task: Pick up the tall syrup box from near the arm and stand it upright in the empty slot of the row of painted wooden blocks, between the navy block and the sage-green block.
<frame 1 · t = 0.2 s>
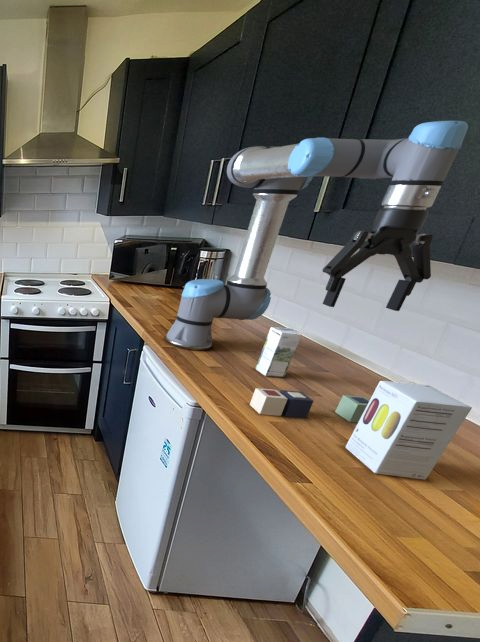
hand: (359, 307, 92), 28 cm above the worktop, tool pointing down, fingers open, 13 cm apart
block a: (264, 410, 103), on the worktop
block c: (352, 417, 101), on the worktop
supplement box: (382, 463, 84), on the worktop
syrup box: (269, 374, 126), on the worktop
block b: (289, 412, 103), on the worktop
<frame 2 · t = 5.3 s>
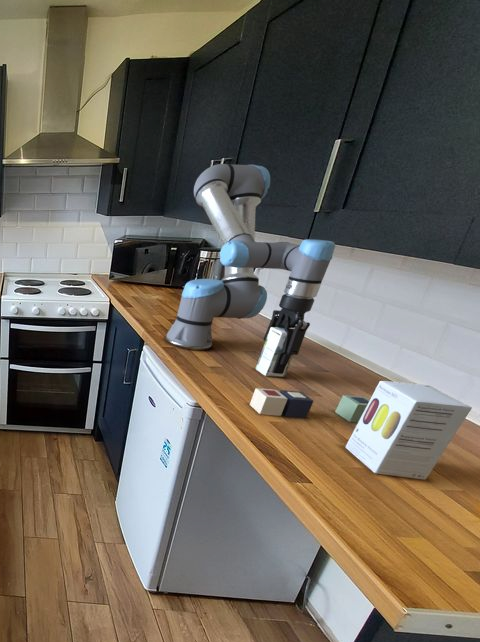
hand: (271, 368, 125), 2 cm above the worktop, tool pointing down, fingers closed on syrup box, 6 cm apart
syrup box: (269, 374, 126), on the worktop, touching gripper
everything else where it was.
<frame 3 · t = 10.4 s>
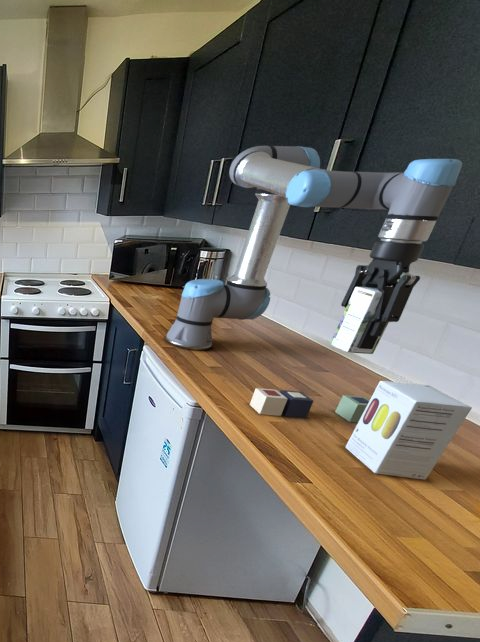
hand: (353, 343, 94), 20 cm above the worktop, tool pointing down, fingers closed on syrup box, 6 cm apart
syrup box: (350, 350, 95), point 18 cm above the worktop, touching gripper
everything else where it was.
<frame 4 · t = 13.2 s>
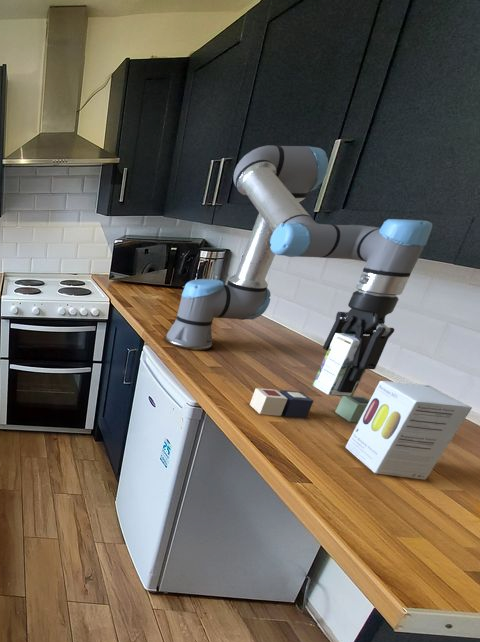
hand: (334, 385, 99), 8 cm above the worktop, tool pointing down, fingers closed on syrup box, 6 cm apart
syrup box: (331, 392, 99), point 7 cm above the worktop, touching gripper
everything else where it was.
when the fingers open (2 cm above the worktop, at t = 15.4 s): syrup box stays where it is, on the worktop.
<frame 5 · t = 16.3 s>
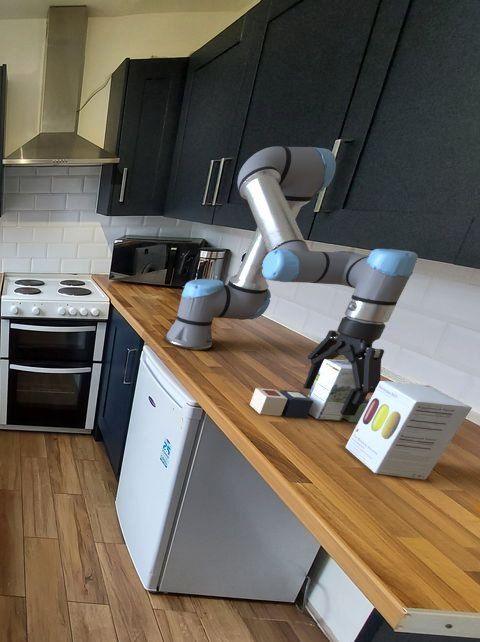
hand: (327, 400, 100), 4 cm above the worktop, tool pointing down, fingers open, 13 cm apart
syrup box: (320, 415, 102), on the worktop
everything else where it was.
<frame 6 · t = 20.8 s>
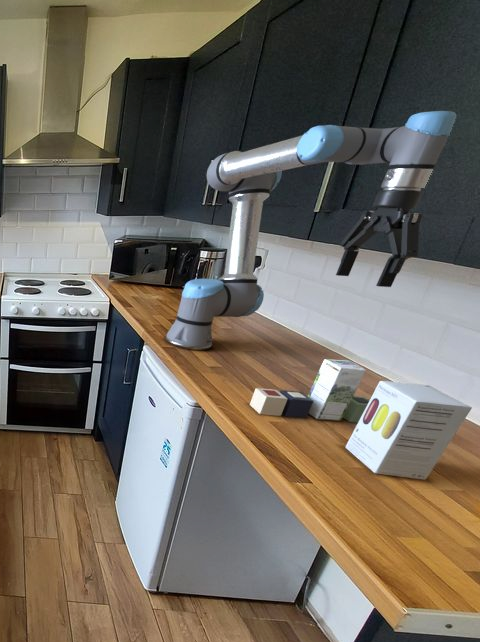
hand: (361, 280, 102), 32 cm above the worktop, tool pointing down, fingers open, 13 cm apart
nothing on the worktop moved.
at the end: syrup box 0.1 cm from the target spot on the worktop beside the block b, on the worktop; syrup box 7.5 cm from the block c (horizontally); syrup box tilted 0° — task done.
